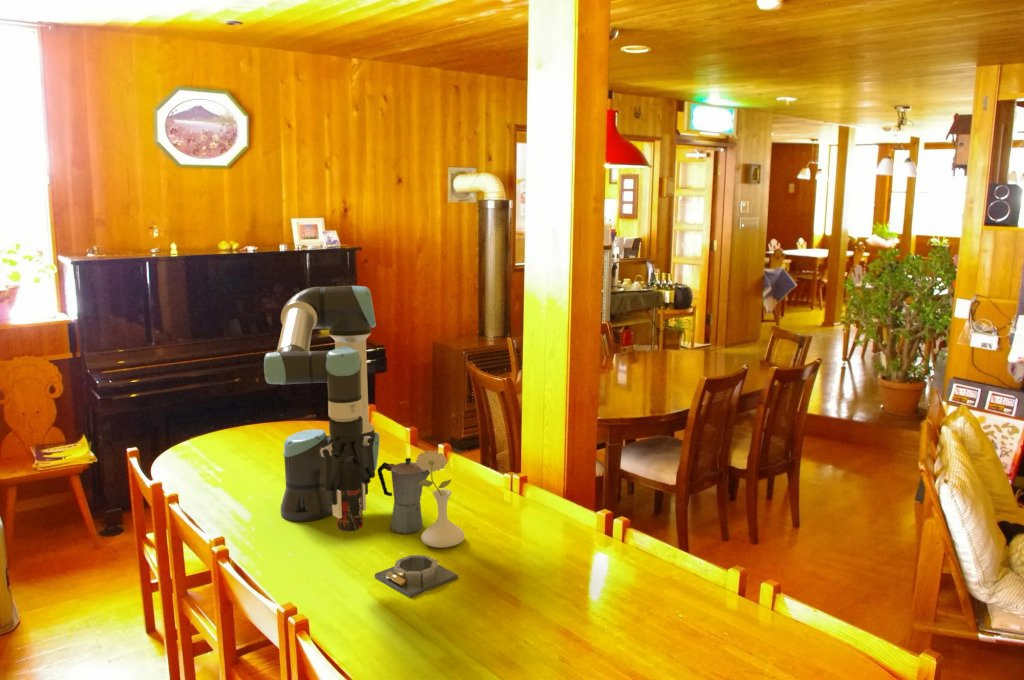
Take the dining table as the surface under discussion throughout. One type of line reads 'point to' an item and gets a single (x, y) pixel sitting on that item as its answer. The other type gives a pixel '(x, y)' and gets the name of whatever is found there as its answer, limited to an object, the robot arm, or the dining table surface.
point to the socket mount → (415, 575)
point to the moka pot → (405, 495)
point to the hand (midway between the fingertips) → (349, 512)
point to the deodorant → (350, 497)
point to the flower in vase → (439, 505)
